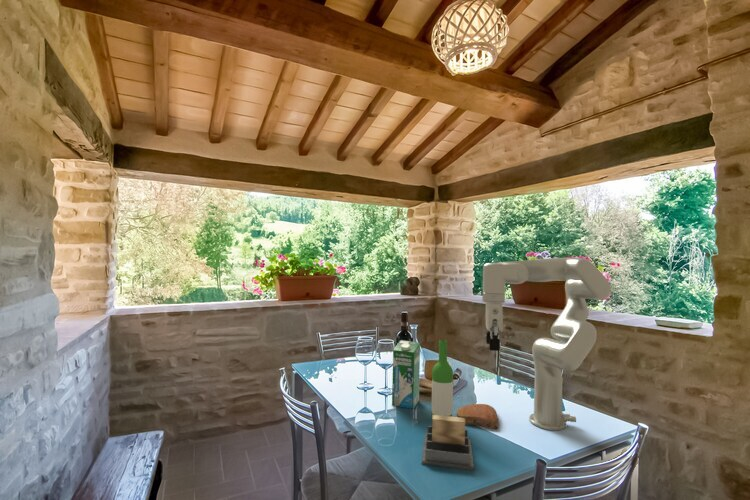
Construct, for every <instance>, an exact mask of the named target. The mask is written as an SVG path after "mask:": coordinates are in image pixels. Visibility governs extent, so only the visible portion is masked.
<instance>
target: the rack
mask: <svg viewBox="0 0 750 500" xmlns="http://www.w3.org/2000/svg"><path fill="white" fill-rule="evenodd" d="M423 439H424V440H423V448H422V449H423V450H422V455H421V464H422V465H428V466H436V467H437V466H439V467H446V468H452V469H454V468H455V469H462V470H470V471H474V470H475V464H474V463H475V462H474V456H473V449H472V442H471V438H469V436H468V429H465V445H461V444H453V443H444V442H435V441H432V425H428V426H427V432H426V433H424V438H423Z"/></svg>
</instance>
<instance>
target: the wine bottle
mask: <svg viewBox="0 0 750 500" xmlns="http://www.w3.org/2000/svg"><path fill="white" fill-rule="evenodd" d="M438 342H439V343H438V362H436V363H435V364H434V366H433V367H432V371H431V372H432V374H431V406H430V407H431V409H430V410H431V414H430V415H431V419H432V418H433V415H440V416H450V417H453V410H454V409H453V407H454V405H453V404H454V400H453V398H454V394H453V393H454V372H453V371H454V370H453V368H452V366H451V364H450V363H448V341H447V340H445V339H440V340H439V341H438Z"/></svg>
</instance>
